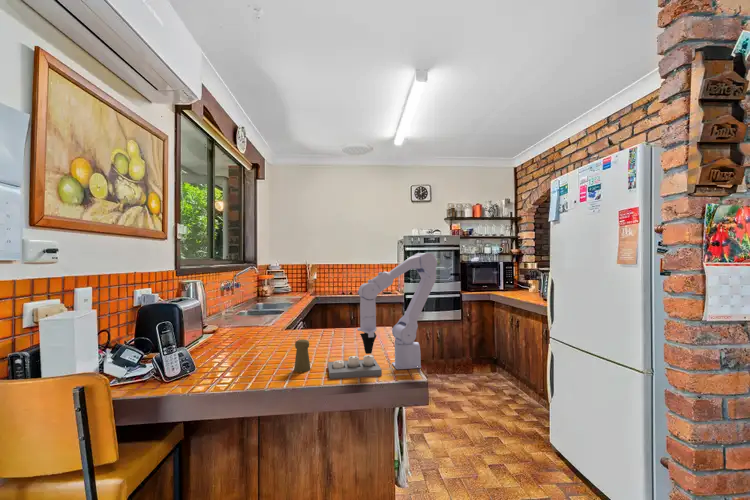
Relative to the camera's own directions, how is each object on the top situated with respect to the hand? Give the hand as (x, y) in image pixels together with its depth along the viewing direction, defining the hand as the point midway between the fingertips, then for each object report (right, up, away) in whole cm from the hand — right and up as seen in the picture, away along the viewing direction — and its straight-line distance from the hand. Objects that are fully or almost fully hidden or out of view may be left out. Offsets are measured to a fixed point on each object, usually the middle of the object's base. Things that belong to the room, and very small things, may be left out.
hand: (368, 353), depth 135 cm
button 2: (-5, -4, -1) cm, 7 cm away
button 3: (-11, -6, -2) cm, 12 cm away
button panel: (-5, -6, -1) cm, 8 cm away
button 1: (0, -4, 0) cm, 4 cm away
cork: (-25, -7, +2) cm, 25 cm away
